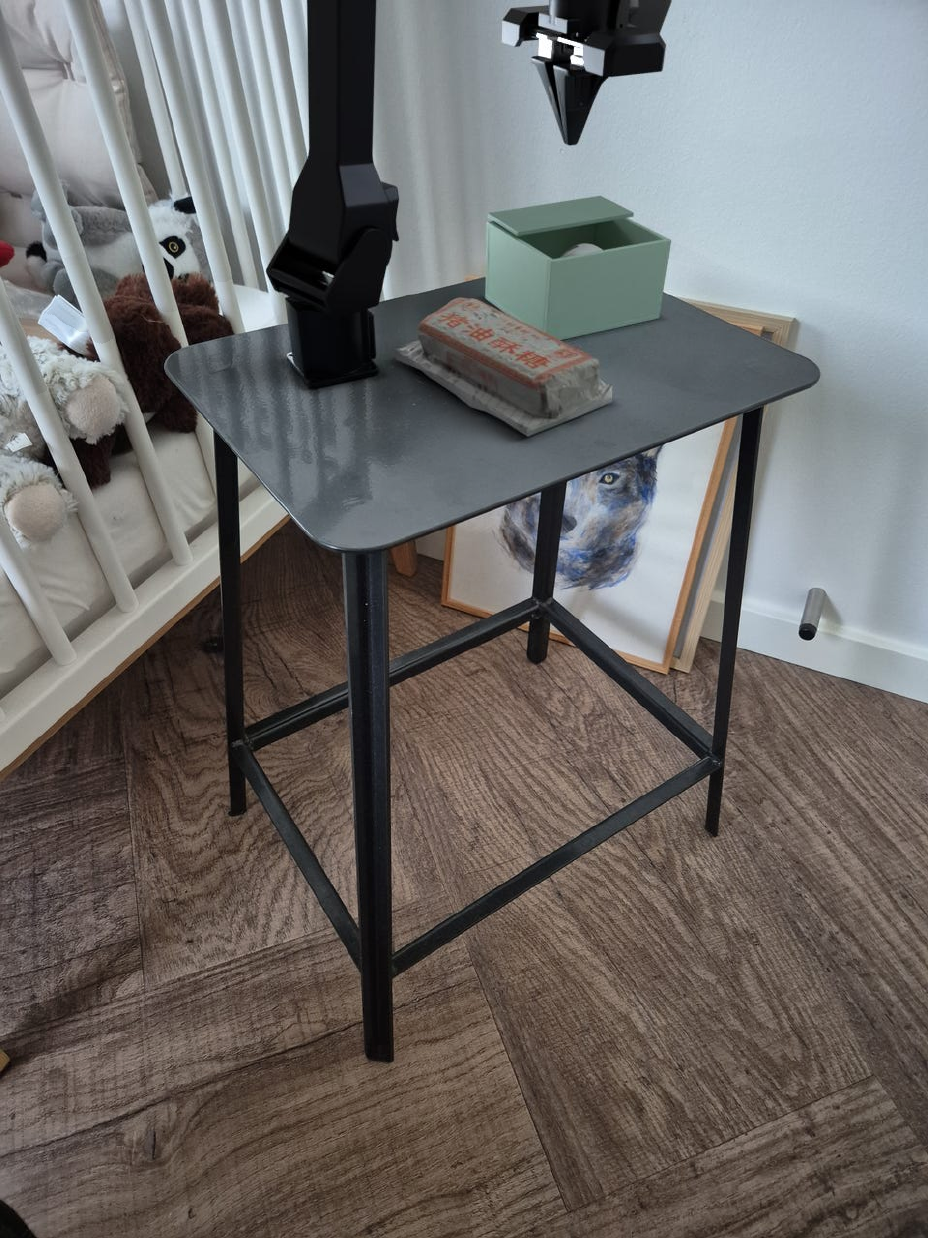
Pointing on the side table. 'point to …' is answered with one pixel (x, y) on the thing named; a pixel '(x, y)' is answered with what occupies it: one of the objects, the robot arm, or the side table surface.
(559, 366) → the packaged product
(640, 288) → the pale green hollow box
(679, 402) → the side table surface
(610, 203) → the green box lid
